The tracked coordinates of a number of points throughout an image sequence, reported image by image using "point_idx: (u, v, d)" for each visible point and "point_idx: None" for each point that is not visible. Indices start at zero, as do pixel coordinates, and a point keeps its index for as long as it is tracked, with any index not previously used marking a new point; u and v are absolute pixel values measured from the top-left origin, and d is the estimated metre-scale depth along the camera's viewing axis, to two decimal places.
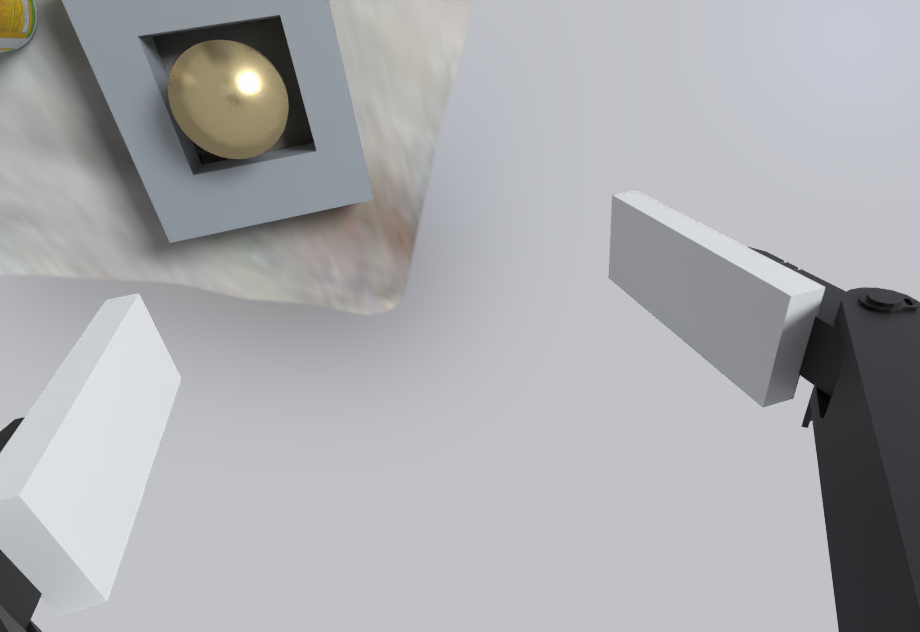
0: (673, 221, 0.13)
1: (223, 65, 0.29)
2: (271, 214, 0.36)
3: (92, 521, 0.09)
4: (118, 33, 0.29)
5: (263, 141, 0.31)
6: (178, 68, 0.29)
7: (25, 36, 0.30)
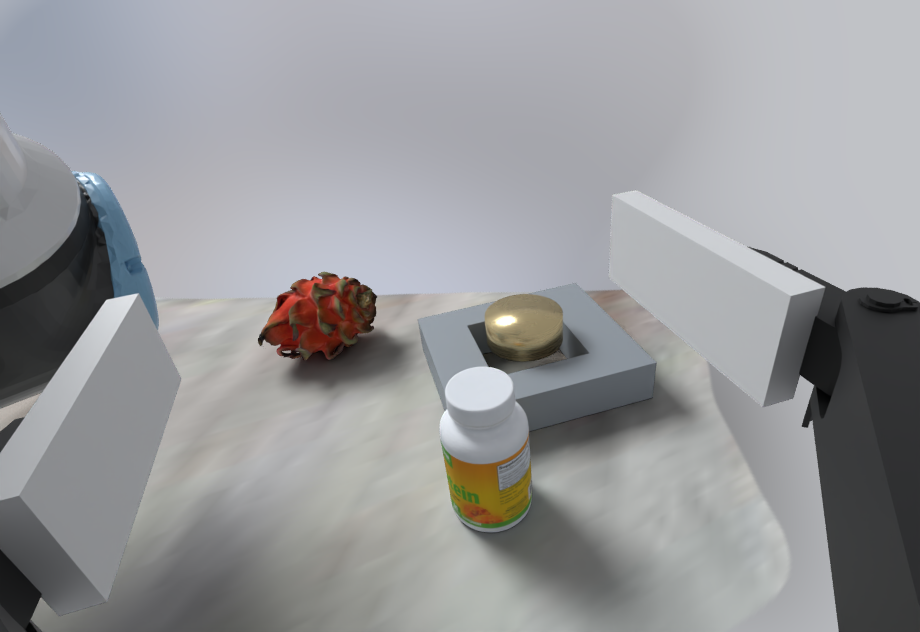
0: (673, 221, 0.13)
1: (499, 316, 0.43)
2: (606, 319, 0.45)
3: (92, 521, 0.09)
4: None
5: (545, 300, 0.44)
6: (506, 332, 0.41)
7: None
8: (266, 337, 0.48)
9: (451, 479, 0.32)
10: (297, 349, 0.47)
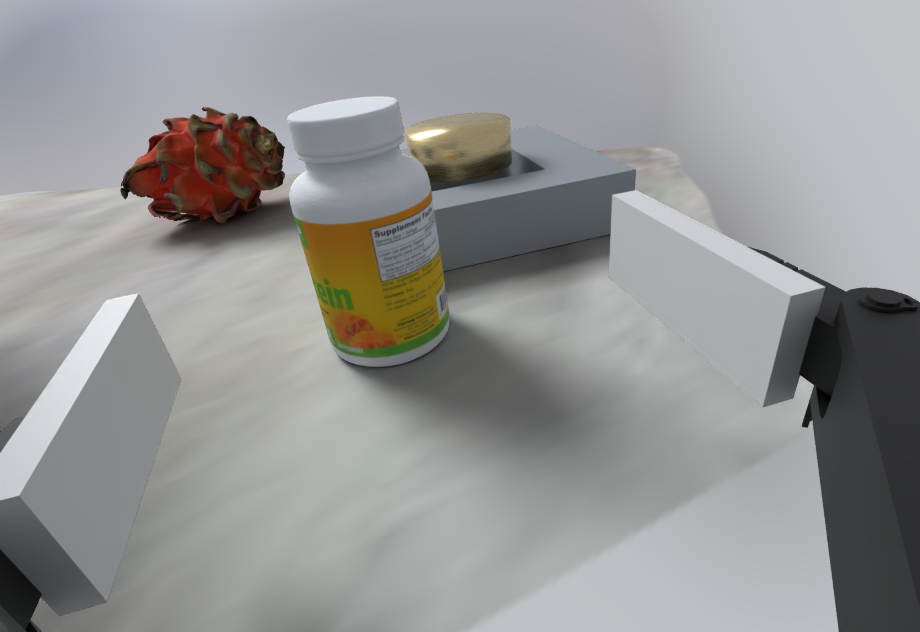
0: (673, 221, 0.13)
1: (425, 128, 0.31)
2: (572, 145, 0.34)
3: (92, 521, 0.09)
4: None
5: (489, 115, 0.33)
6: (430, 136, 0.29)
7: None
8: (130, 185, 0.37)
9: (313, 277, 0.20)
10: (166, 194, 0.35)
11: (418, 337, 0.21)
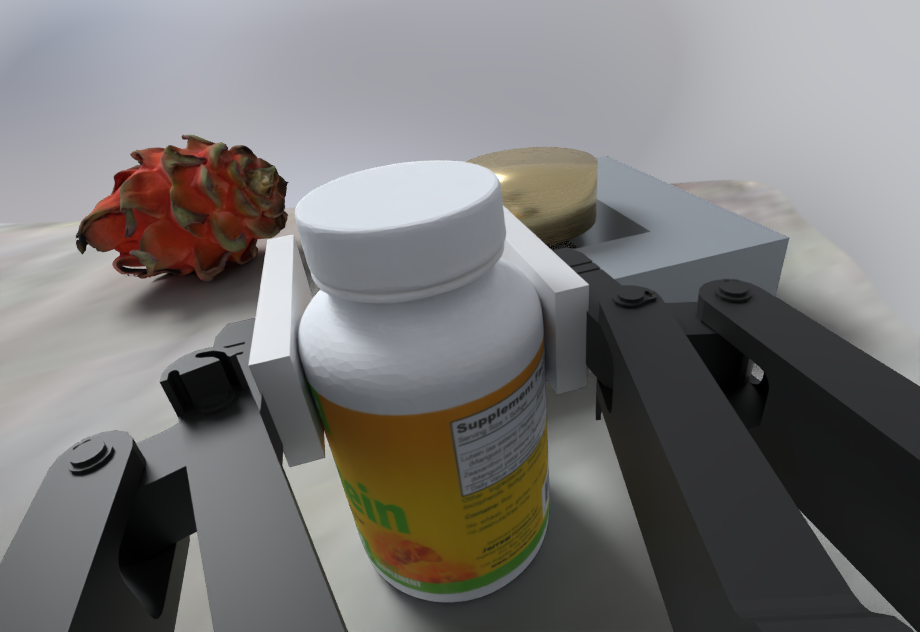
0: None
1: None
2: (670, 190, 0.26)
3: (311, 395, 0.11)
4: None
5: (562, 151, 0.24)
6: None
7: None
8: (88, 237, 0.28)
9: (338, 467, 0.12)
10: (132, 252, 0.27)
11: (512, 558, 0.12)
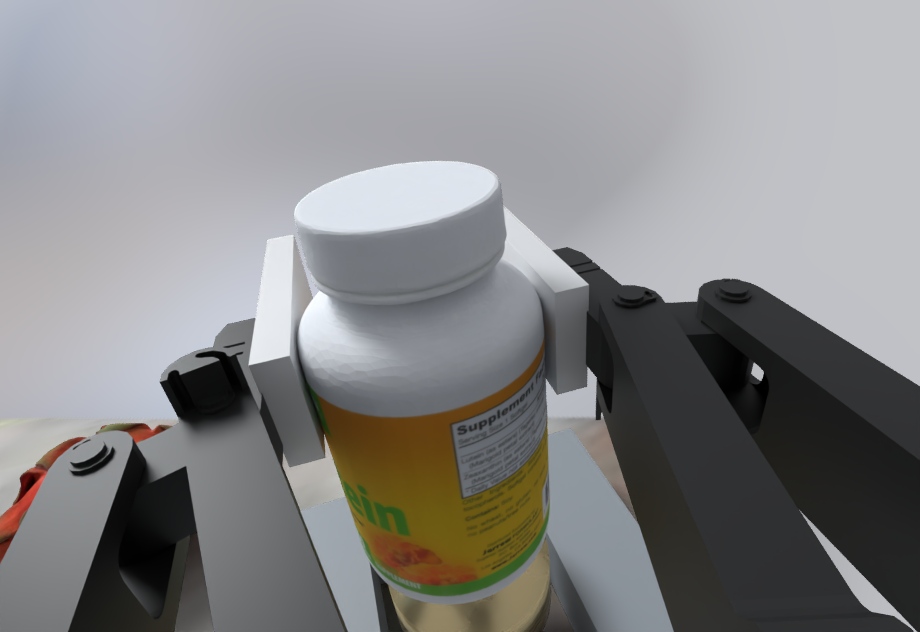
0: None
1: None
2: (634, 535, 0.23)
3: None
4: None
5: None
6: (426, 623, 0.18)
7: None
8: None
9: (337, 469, 0.12)
10: None
11: (513, 560, 0.12)
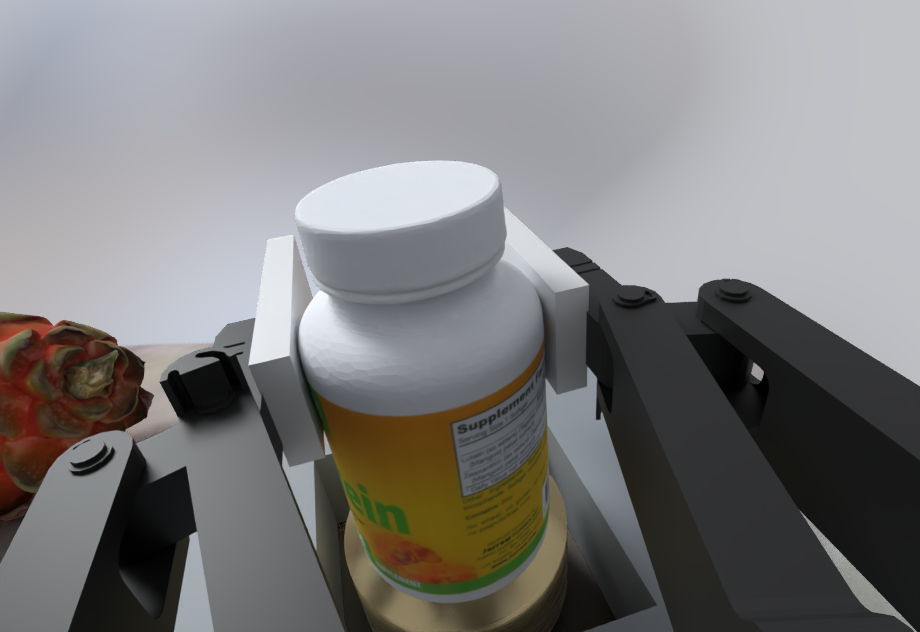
0: None
1: None
2: None
3: (311, 395, 0.11)
4: None
5: None
6: (393, 605, 0.13)
7: None
8: None
9: (338, 468, 0.12)
10: None
11: (513, 559, 0.12)
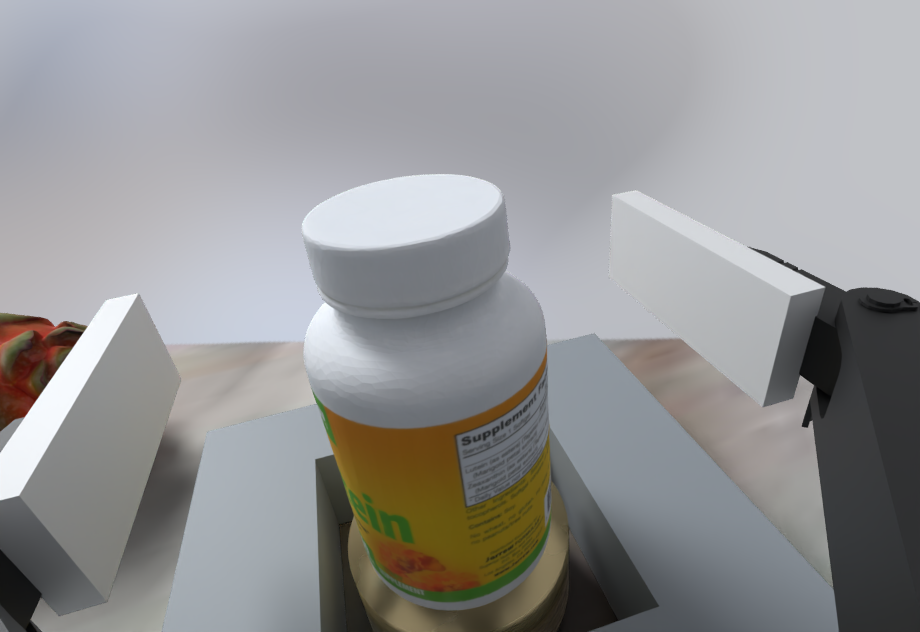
0: (673, 221, 0.13)
1: None
2: (688, 452, 0.16)
3: (92, 521, 0.09)
4: None
5: None
6: (397, 612, 0.13)
7: None
8: None
9: (342, 477, 0.12)
10: None
11: (515, 567, 0.13)
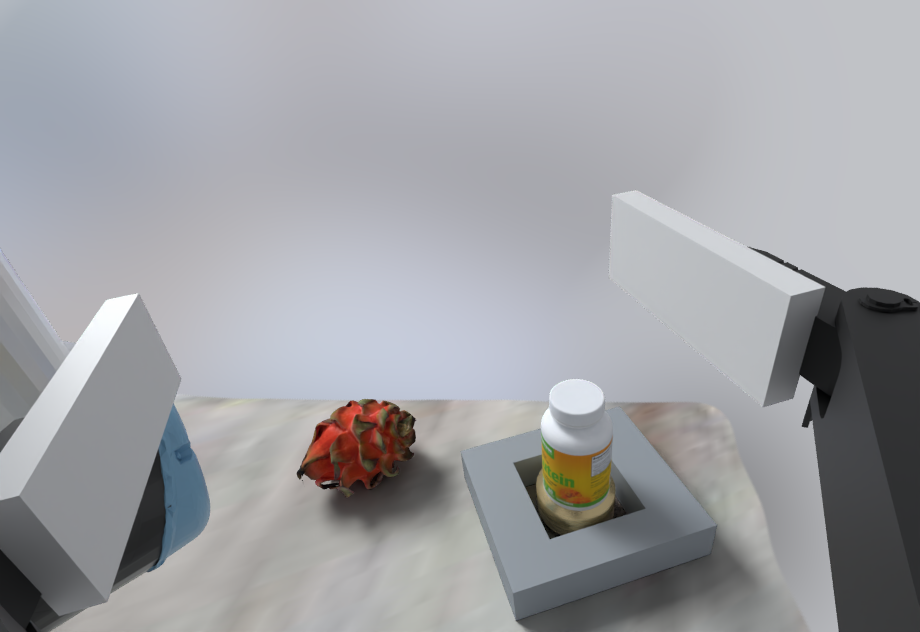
0: (673, 221, 0.13)
1: None
2: (657, 460, 0.44)
3: (92, 521, 0.09)
4: (551, 550, 0.38)
5: None
6: (561, 512, 0.41)
7: None
8: (306, 472, 0.47)
9: (550, 468, 0.40)
10: (339, 488, 0.45)
11: (600, 496, 0.40)
